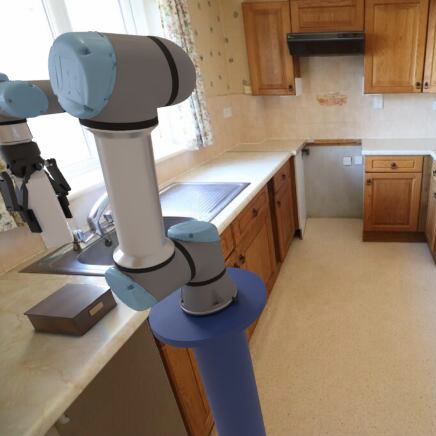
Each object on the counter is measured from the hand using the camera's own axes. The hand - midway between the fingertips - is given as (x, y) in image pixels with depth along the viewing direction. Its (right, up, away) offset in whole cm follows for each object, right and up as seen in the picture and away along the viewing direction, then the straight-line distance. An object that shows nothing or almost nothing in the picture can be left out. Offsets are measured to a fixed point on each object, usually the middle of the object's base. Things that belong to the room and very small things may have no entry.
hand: (53, 224), depth 89 cm
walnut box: (+7, -25, -1) cm, 26 cm away
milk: (0, -5, +2) cm, 6 cm away
